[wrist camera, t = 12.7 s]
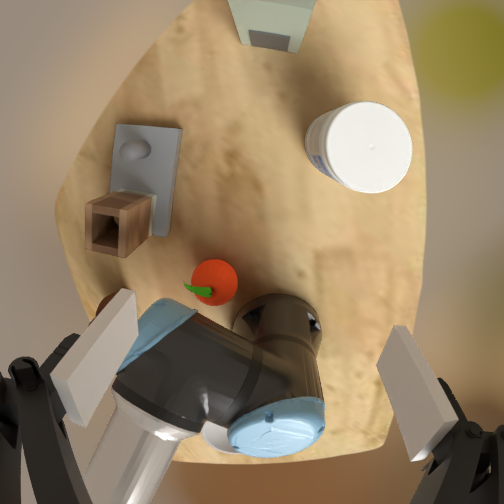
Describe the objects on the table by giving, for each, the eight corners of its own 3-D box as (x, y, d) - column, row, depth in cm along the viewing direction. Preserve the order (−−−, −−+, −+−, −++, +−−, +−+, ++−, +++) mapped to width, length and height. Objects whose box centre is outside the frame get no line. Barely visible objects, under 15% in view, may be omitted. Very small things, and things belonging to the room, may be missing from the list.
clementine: (190, 288, 49) (178, 310, 42) (190, 248, 46) (178, 267, 40) (238, 294, 49) (233, 318, 42) (241, 254, 46) (237, 274, 40)
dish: (258, 442, 64) (258, 457, 59) (201, 432, 64) (198, 447, 59) (276, 401, 58) (276, 418, 53) (209, 389, 57) (205, 406, 53)
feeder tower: (297, 55, 35) (315, 2, 18) (241, 46, 35) (222, -11, 18) (306, 10, 32) (326, -57, 15) (252, 1, 32) (241, -69, 15)
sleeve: (153, 233, 44) (125, 258, 34) (118, 226, 44) (85, 248, 34) (157, 194, 42) (127, 210, 32) (121, 188, 41) (85, 203, 32)
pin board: (169, 233, 46) (153, 249, 39) (113, 222, 46) (92, 236, 39) (182, 129, 40) (167, 127, 33) (122, 124, 40) (99, 123, 33)
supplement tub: (296, 165, 41) (310, 178, 27) (313, 103, 38) (335, 84, 24) (359, 185, 41) (399, 207, 28) (376, 124, 38) (423, 120, 24)
